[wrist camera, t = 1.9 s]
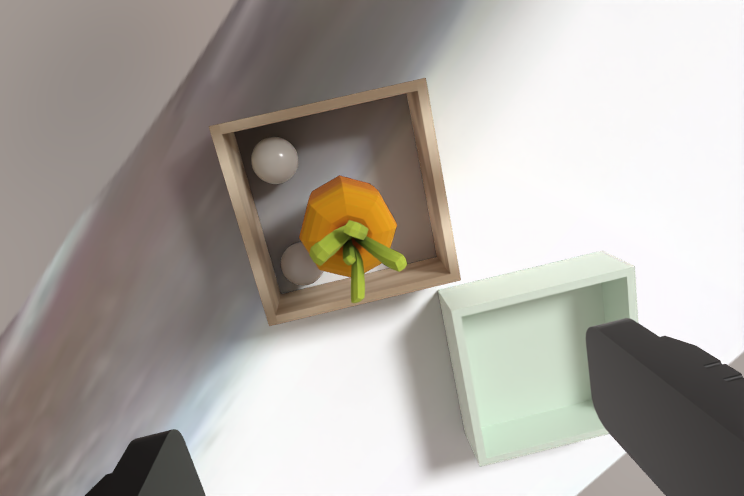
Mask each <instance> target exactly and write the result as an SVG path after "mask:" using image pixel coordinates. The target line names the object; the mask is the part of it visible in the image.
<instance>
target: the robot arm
mask: <svg viewBox="0 0 744 496" xmlns="http://www.w3.org/2000/svg"><path fill="white" fill-rule="evenodd" d="M586 348H587V358H588V368H589V377H590V387H591V396H592V401H593V405H594V408H595V411H596V413H597V415H598V418H599V419H600V421H601V423H602V425H603V426H604V428H605V429H606V430H607V431H608V432H609V433H610V435H611V436H612V437H613V438H614V439H615V440H616V441H617V442H618V443H619V444H620V446H621V447H622V448H623V449H624V450H625V451H626V452H627V453H628V454H629V456H630V457H631V458H632V459H633V460H634V461H635V462H636V463H637V464H638V465H639V467H640V468H641V469H642V470H643V471H644V472H645V473H646V474H647V475H648V476H649V478H650V479H651V480H652V481H653V482H654V483H655V484H656V485H657V486H658V488H659V489H660V490H661V491H662V492H663V493H664V494H665V495H666V496H744V378H743V376H742V374H741V373H739V372H738V371H736V370H735V369H733V368H731V367H730V366H728V365H727V364H723V365H722V364H721V361H720V360H718V359H717V358H715V357H713V356H712V355H710V354H709V353H707V352H705V351H704V350H702V349H700V348H699V347H697V346H695V345H692V344H689V343H686V342H683V341H680V340H677V339H673V338H670V337H667V336H662V337H659V336H657V335H656V334H654V333H652V332H651V331H649V330H648V329H646V328H645V327H643V326H642V325H640V324H639V323H637V322H636V321H634V320H632V319H630V318H624V319H620V320H616V321H612V322H608V323H604V324H600V325H596V326H592V327H589V328H588V329H587V331H586ZM85 496H205V493H204V490H203V487H202V485H201V482H200V480H199V477H198V474H197V472H196V469H195V467H194V464H193V461H192V459H191V456H190V454H189V451H188V449H187V446H186V443H185V441H184V438H183V436H182V435H181V433H180V432H179V431H178V430H175V429H173V430H169V431H165V432H161V433H157V434H153V435H149V436H145V437H141V438H137V439H134V440H132V441H131V442H130V444H129V445H128V447H127V449H126V450H125V452H124V454H123V456H122V457H121V459H120V461H119V462H118V464H117V466H116V467H115V469H114V471H113V472H112V473H111V474H107V475H105V476H104V477H103V478H102V479H101V480H100V481H99V482H98V483H97V484H96V485H95V486H94V487H93V488H92V489H91V490H90V491H89V492H88V493H87V494H86V495H85Z"/></svg>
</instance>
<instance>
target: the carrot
mask: <svg viewBox="0 0 744 496" xmlns="http://www.w3.org/2000/svg"><path fill="white" fill-rule="evenodd" d="M396 227H397V223H396V222H395V220H394V218H393V216H392V214H391V213H390V211H389V209H388V207H387V205H386V204H385V202H384V200H383V198H382V197H381V195H380V193H379V191H378V190H377V189H376V188H375V187H374V186H372V185H371V184H369V183H366V182H362V181H358V180H354V179H351V178H347V177H343V176H340V175H339V176H338V177H336V178H334V179H333V180H331V181H329V182H327V183H326V184H324V185H322V186H320V187H319V188H317V189H315V190H314V191H312V193H311V195H310V197H309V200H308V204H307V208H306V212H305V216H304V220H303V224H302V228H301V232H300V236H299V238H300V240H301V242H302V243H303V245H304V246H305V248H306V250H307V251H308V253H309V255H310V257H311V259H312V260H313V262H315V264H316V265H317V267H318V269H319V270H321V271H326V272H330V273H334V274H338V275H343V276H347V277H351V303H358V302H360V301H362V300H363V299H364V298H365V277H364V273H366V272H367V271H369V270H371V269H373V268H374V267H376V266H378V265H380V264H381V263H383V264H384V265H386V266H387V267H389V268H391V269H393V270H396V271H398V272H400V271H402V270H403V269H404V268H405V267H406V265H407V261H406V259H405V257H404V256H403V255H402V254H401V253H399V252H397V251H395V250H393V249H390V247H391V244H392V241H393V237H394V234H395V231H396Z"/></svg>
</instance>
